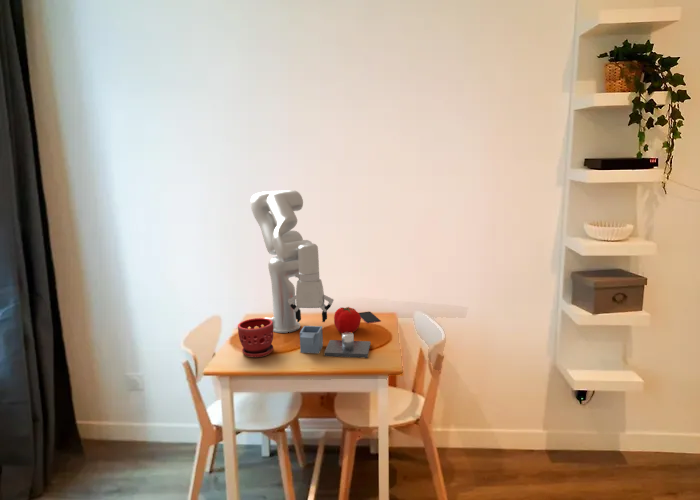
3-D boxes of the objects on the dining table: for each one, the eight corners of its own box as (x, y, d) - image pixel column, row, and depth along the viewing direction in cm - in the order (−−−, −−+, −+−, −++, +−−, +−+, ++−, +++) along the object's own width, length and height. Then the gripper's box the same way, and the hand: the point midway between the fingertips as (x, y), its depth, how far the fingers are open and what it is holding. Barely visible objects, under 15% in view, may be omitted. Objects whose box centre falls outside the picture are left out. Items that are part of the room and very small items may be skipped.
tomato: (329, 335, 209) (328, 311, 207) (340, 324, 221) (339, 301, 219) (355, 337, 206) (355, 313, 203) (365, 326, 217) (364, 303, 215)
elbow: (297, 357, 188) (296, 337, 187) (304, 345, 199) (303, 325, 198) (316, 358, 187) (316, 337, 186) (322, 345, 198) (322, 326, 197)
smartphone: (370, 311, 236) (381, 320, 223) (370, 312, 236) (381, 322, 223) (356, 312, 234) (366, 322, 221) (356, 314, 234) (366, 324, 221)
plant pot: (279, 346, 198) (278, 317, 196) (267, 361, 186) (265, 330, 183) (248, 344, 201) (246, 315, 198) (234, 358, 189) (231, 328, 186)
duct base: (324, 356, 189) (323, 339, 187) (330, 343, 200) (329, 327, 199) (367, 358, 187) (367, 341, 185) (370, 345, 198) (370, 329, 197)
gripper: (283, 279, 187) (286, 324, 190) (330, 279, 184) (332, 324, 187) (289, 274, 194) (291, 317, 197) (334, 274, 192) (335, 318, 195)
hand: (311, 321), depth 192 cm, fingers open, 9 cm apart
